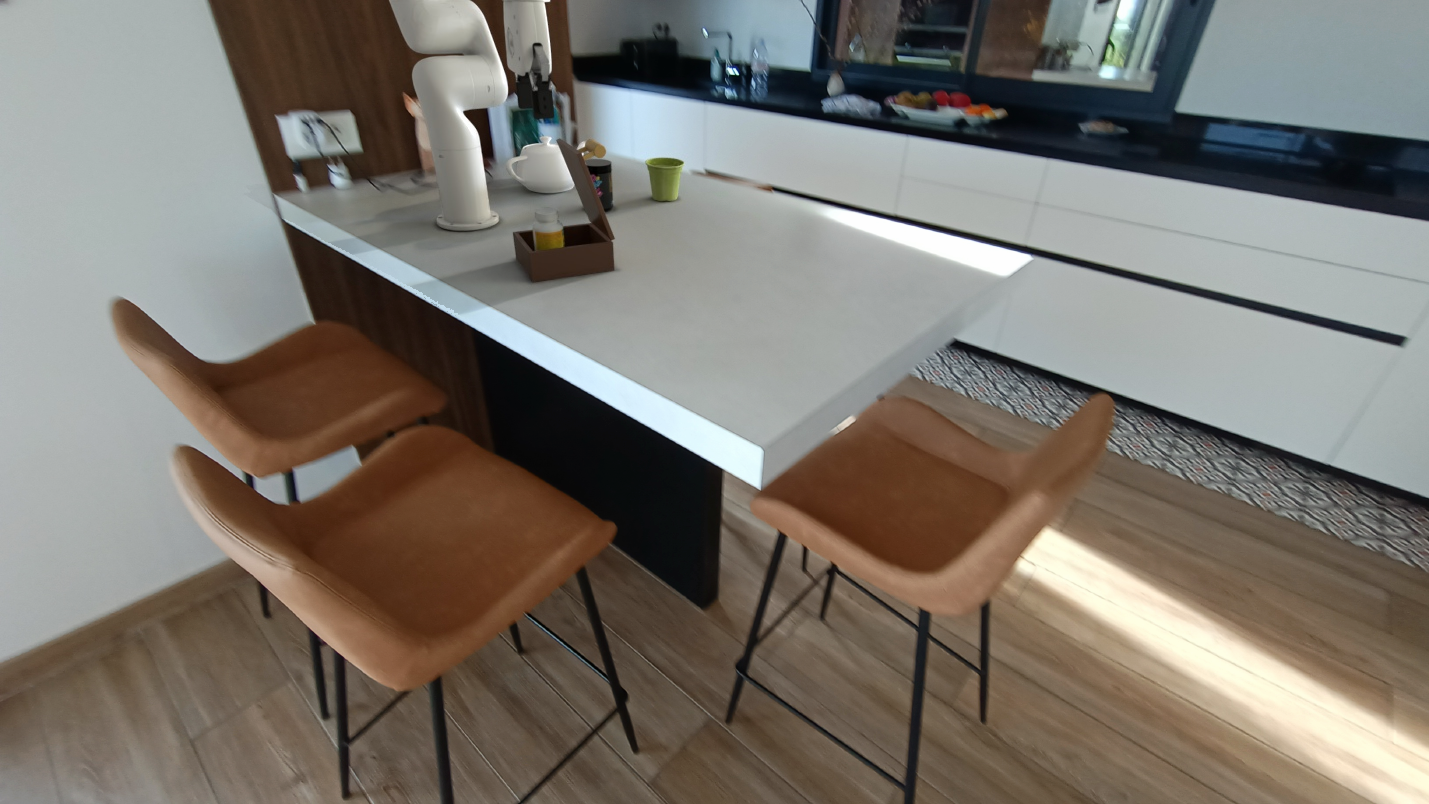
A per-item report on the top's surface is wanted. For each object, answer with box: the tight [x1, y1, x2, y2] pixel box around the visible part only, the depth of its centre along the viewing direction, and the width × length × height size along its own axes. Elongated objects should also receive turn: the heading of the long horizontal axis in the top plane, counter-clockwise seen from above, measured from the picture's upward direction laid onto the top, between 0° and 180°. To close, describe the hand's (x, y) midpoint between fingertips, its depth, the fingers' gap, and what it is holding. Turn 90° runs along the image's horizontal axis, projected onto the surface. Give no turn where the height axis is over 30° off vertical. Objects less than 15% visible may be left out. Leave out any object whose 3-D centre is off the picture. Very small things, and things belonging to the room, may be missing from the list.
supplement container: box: [584, 158, 614, 213], centre depth 150 cm, size 7×7×10 cm
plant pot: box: [644, 157, 685, 202], centre depth 160 cm, size 9×9×9 cm
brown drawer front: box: [555, 138, 616, 242], centre depth 118 cm, size 16×12×6 cm
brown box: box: [512, 222, 615, 283], centre depth 121 cm, size 15×12×5 cm
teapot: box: [505, 135, 587, 194], centre depth 163 cm, size 25×16×12 cm, turn 139°
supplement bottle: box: [531, 206, 565, 251], centre depth 119 cm, size 5×5×10 cm
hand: (536, 113), depth 107 cm, fingers open, 9 cm apart
